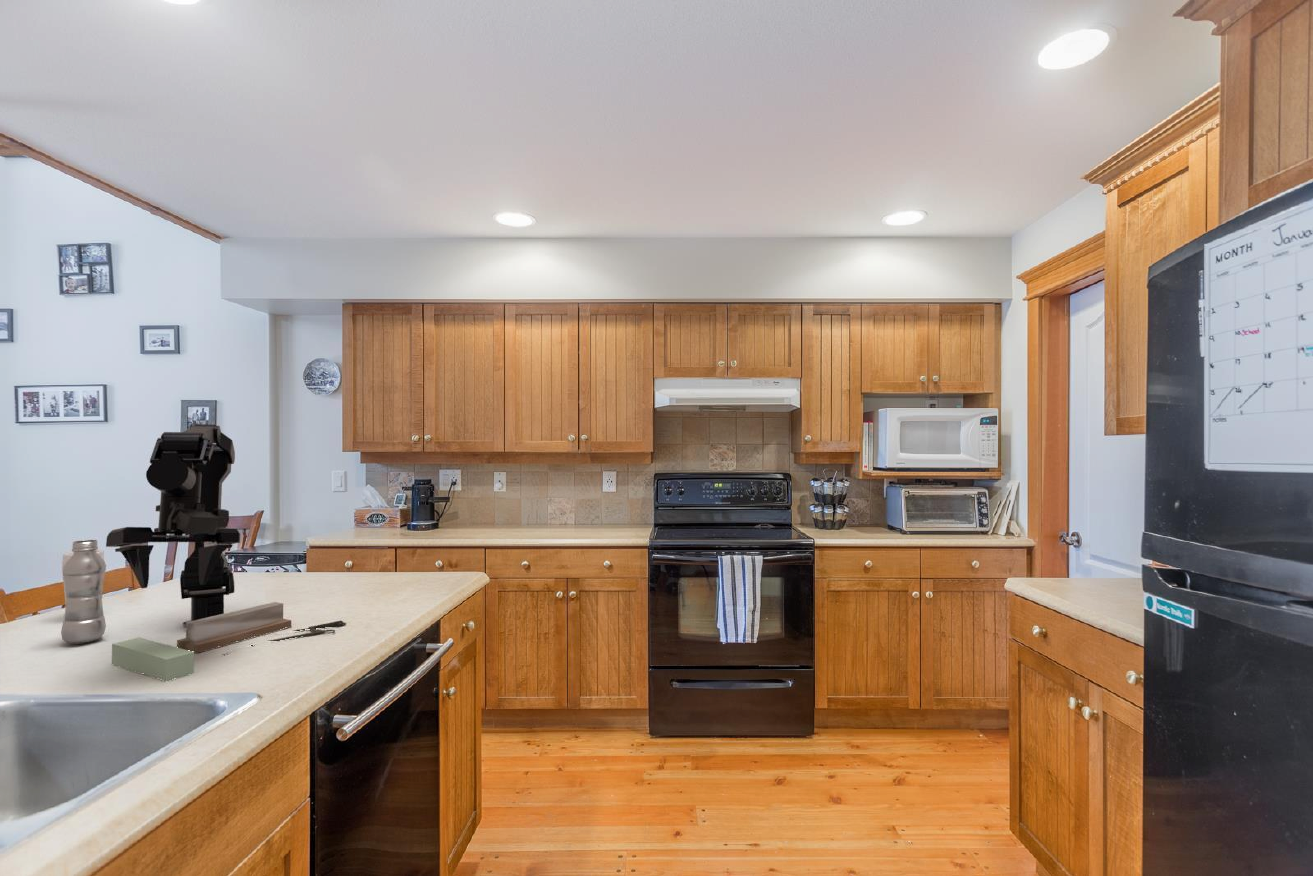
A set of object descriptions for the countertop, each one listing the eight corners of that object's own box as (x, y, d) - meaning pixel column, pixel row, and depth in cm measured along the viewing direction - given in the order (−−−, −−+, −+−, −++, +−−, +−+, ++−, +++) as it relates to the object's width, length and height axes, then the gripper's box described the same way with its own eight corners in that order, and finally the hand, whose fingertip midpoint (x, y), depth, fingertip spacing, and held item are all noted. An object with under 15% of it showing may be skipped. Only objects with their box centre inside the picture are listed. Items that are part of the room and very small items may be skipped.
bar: (111, 666, 107) (112, 643, 107) (138, 659, 111) (139, 637, 111) (166, 683, 99) (166, 659, 99) (193, 675, 103) (194, 652, 103)
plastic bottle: (67, 650, 115) (68, 545, 115) (55, 643, 118) (57, 541, 118) (111, 640, 120) (112, 540, 120) (99, 635, 124) (100, 537, 124)
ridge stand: (176, 647, 116) (177, 621, 116) (270, 623, 132) (270, 600, 132) (198, 653, 113) (198, 626, 113) (291, 627, 129) (291, 603, 129)
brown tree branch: (345, 625, 132) (345, 618, 132) (351, 638, 124) (351, 630, 124) (209, 645, 119) (209, 638, 119) (205, 661, 110) (205, 653, 110)
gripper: (146, 488, 99) (138, 586, 95) (260, 496, 115) (257, 579, 112) (108, 498, 103) (99, 591, 100) (224, 503, 120) (219, 584, 116)
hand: (174, 586), depth 107 cm, fingers open, 9 cm apart
